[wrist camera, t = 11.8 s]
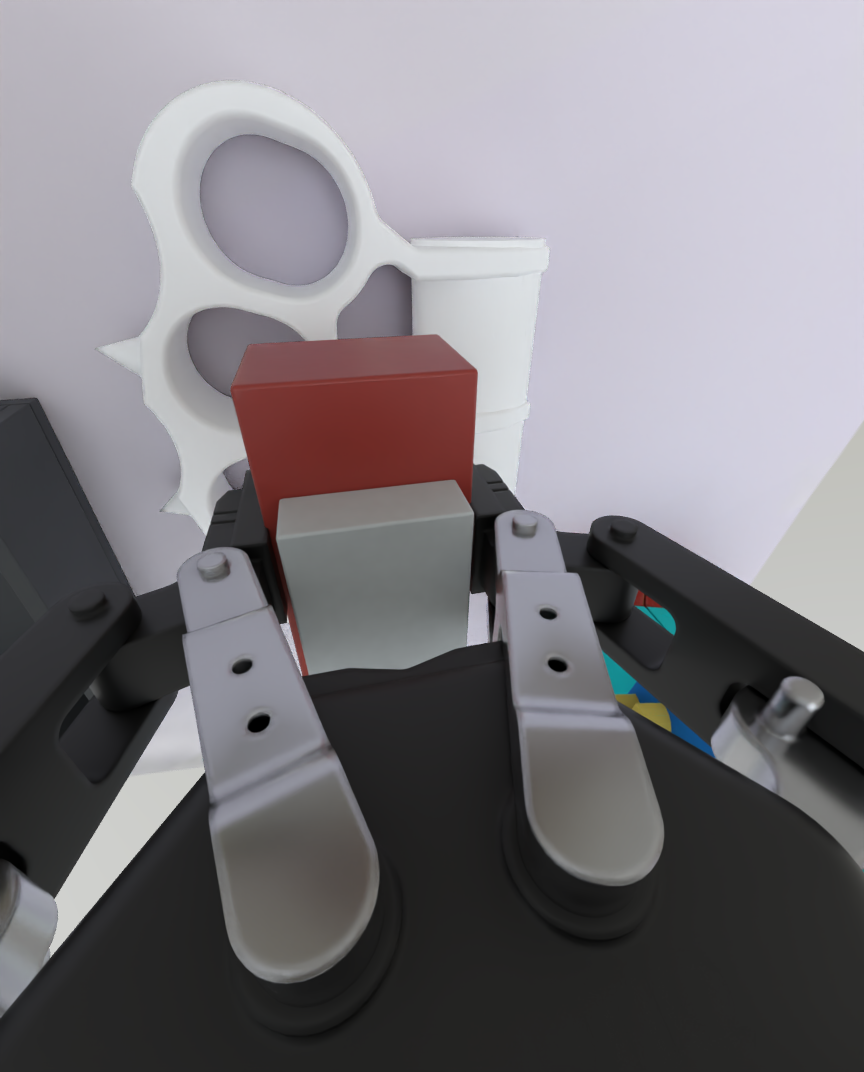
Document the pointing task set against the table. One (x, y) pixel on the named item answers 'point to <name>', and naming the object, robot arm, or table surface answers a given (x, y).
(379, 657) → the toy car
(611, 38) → the table surface
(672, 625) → the toy robot
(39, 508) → the storage box
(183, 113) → the knuckle duster
